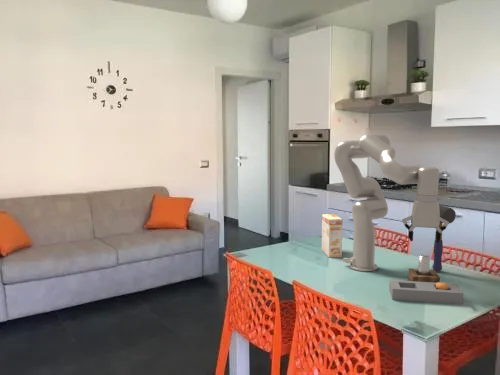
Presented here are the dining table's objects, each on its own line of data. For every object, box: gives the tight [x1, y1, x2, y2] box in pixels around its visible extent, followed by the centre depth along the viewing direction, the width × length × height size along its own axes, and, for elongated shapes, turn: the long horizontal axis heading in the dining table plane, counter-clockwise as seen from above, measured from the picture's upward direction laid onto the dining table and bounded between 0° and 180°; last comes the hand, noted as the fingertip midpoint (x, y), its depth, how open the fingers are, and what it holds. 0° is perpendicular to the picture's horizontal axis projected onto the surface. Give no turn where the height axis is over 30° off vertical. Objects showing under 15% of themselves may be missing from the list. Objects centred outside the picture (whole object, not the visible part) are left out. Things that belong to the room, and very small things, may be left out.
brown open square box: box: [407, 268, 441, 283], centre depth 173 cm, size 10×10×6 cm
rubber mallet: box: [432, 204, 457, 273], centre depth 192 cm, size 12×8×30 cm, turn 19°
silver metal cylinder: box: [417, 254, 431, 276], centre depth 172 cm, size 4×4×12 cm
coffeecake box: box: [321, 213, 343, 258], centre depth 223 cm, size 15×7×20 cm, turn 5°
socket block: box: [388, 279, 464, 305], centre depth 160 cm, size 24×10×5 cm, turn 78°
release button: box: [436, 281, 448, 290], centre depth 159 cm, size 4×4×5 cm
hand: (423, 241), depth 171 cm, fingers open, 9 cm apart
